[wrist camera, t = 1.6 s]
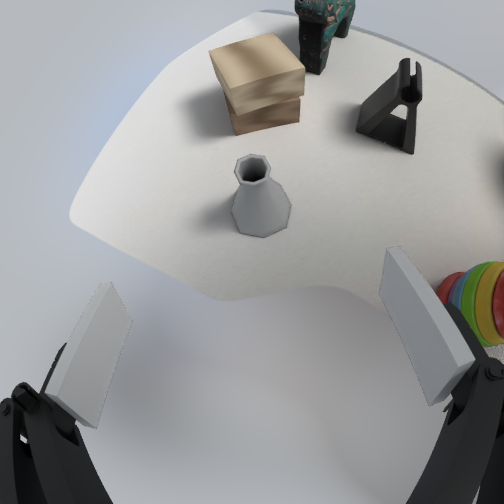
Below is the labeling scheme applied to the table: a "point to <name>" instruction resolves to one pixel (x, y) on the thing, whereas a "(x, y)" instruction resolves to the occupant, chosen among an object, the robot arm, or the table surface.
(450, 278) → the stacking bear
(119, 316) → the robot arm
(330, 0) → the ceramic cat
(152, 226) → the table surface
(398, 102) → the phone stand
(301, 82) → the block upper
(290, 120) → the block lower
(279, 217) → the flask
